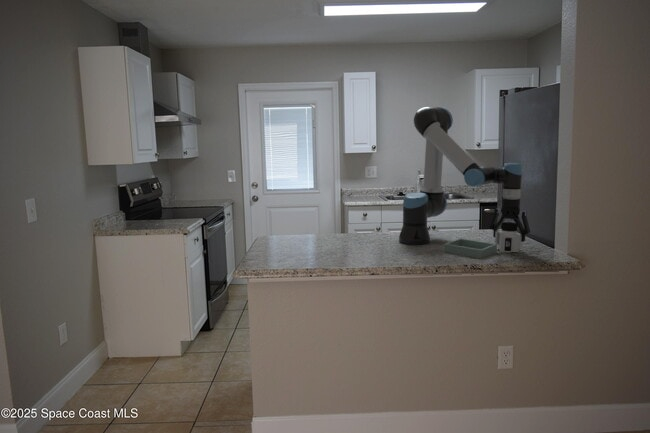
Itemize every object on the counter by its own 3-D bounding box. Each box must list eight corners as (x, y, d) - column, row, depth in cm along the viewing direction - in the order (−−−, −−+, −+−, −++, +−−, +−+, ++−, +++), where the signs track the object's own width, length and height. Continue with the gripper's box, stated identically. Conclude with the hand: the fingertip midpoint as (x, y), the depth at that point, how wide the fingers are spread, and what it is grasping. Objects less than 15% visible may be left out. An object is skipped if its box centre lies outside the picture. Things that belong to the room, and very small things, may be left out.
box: (443, 251, 225) (444, 244, 225) (459, 245, 236) (460, 238, 235) (481, 258, 213) (481, 250, 213) (496, 251, 224) (496, 244, 223)
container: (518, 253, 221) (520, 224, 219) (500, 252, 223) (502, 223, 221) (515, 248, 229) (517, 221, 227) (498, 248, 230) (499, 220, 228)
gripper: (483, 196, 227) (480, 244, 231) (534, 201, 211) (530, 252, 215) (490, 195, 232) (488, 241, 236) (540, 199, 217) (537, 249, 221)
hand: (508, 246), depth 226 cm, fingers closed on container, 10 cm apart
